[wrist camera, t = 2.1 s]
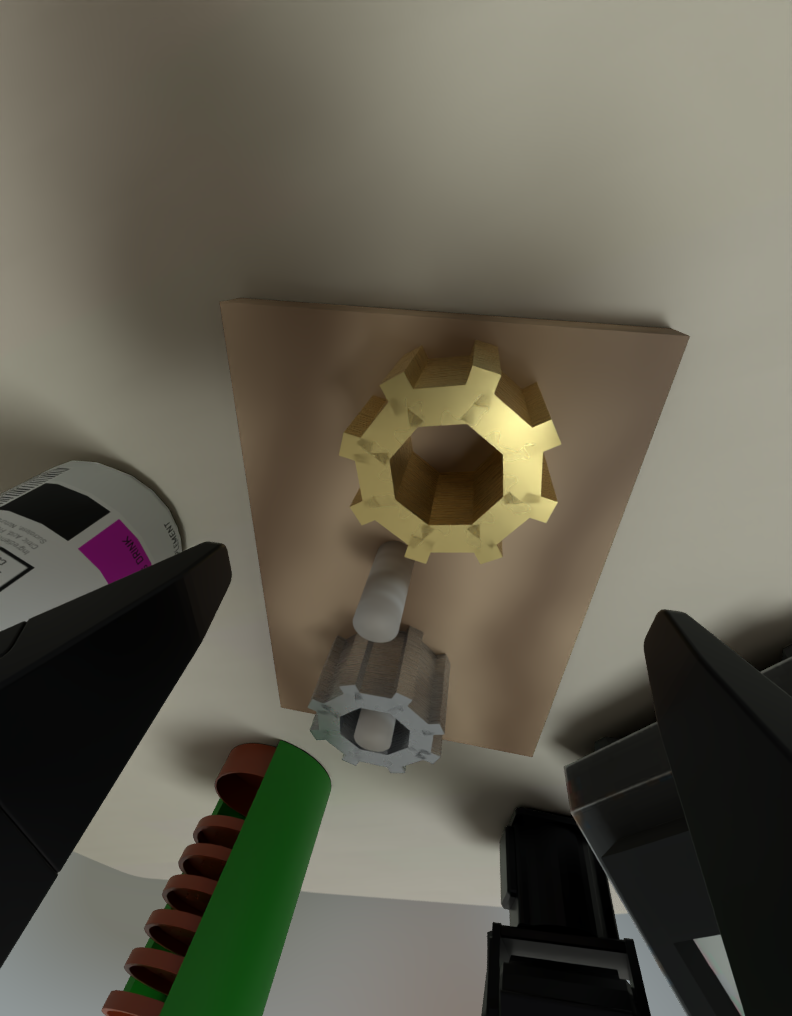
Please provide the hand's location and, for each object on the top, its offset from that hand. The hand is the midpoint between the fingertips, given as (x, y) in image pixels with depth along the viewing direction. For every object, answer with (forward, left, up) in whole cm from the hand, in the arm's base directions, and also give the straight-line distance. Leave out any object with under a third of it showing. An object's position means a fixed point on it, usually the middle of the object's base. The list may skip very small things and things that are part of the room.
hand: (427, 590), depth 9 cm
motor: (+11, +32, -11) cm, 36 cm away
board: (+1, +8, -11) cm, 13 cm away
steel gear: (+2, +14, -9) cm, 17 cm away
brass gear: (0, 0, -9) cm, 9 cm away
